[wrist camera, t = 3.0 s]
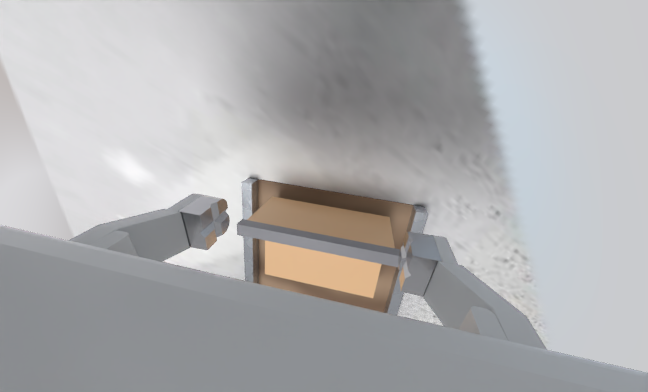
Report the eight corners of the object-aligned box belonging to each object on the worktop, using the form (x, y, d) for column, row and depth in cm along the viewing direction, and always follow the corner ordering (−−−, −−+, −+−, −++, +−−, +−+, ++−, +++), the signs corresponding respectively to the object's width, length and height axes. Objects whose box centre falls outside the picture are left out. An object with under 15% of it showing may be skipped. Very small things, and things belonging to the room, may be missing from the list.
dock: (252, 172, 24) (217, 202, 19) (424, 200, 21) (438, 243, 16) (265, 318, 36) (246, 359, 31) (373, 345, 34) (372, 394, 29)
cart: (272, 184, 22) (236, 225, 17) (394, 204, 21) (401, 257, 15) (275, 251, 27) (247, 301, 21) (376, 272, 25) (375, 333, 19)
